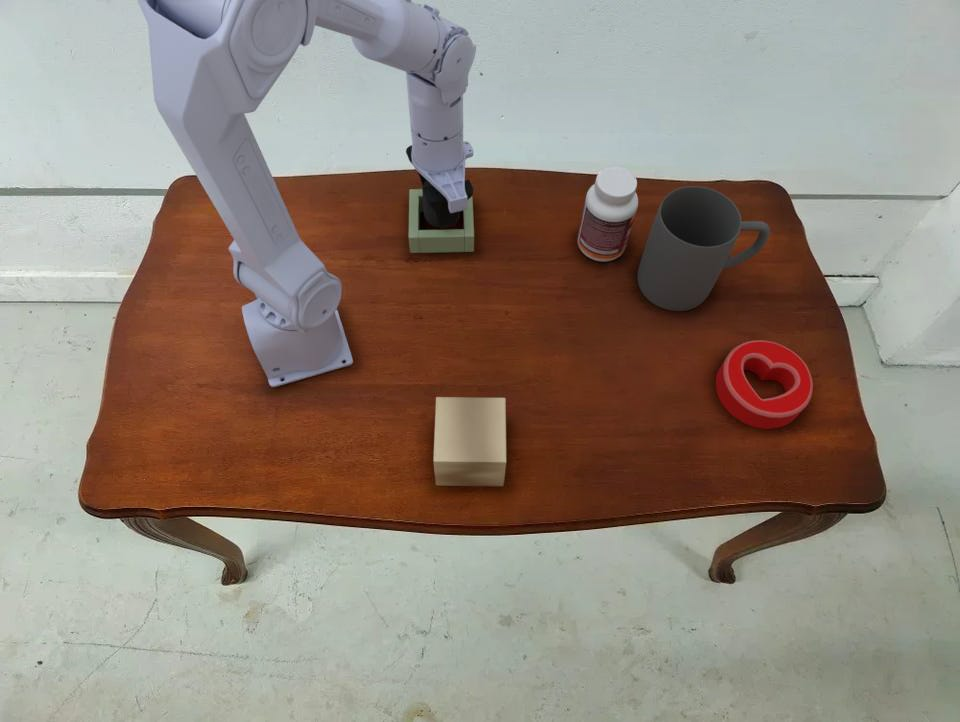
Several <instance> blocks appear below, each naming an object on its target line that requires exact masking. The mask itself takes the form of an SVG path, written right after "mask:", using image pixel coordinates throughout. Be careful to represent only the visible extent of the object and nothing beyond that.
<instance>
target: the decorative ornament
mask: <svg viewBox="0 0 960 722" xmlns="http://www.w3.org/2000/svg"><path fill="white" fill-rule="evenodd" d="M745 371H750V372H752V373H753V374H755V375H756V376H757V377H758V378H759V379H760V381H761V382H763V381H768V380H770V381H771V380H772V381H776V382H778V383H779V384H780V385H782V387H783V389H784V393H782V394H779V395H777V396H773V397H768V398H761V397H760V396H759V395H758V393H757V392H756V391H755V389H754V387H752V385H751V384H750V382H749V381H748V379H747V376H746V374H745ZM813 383H814V382H813V377H812V375H811V371H810V369H809V368H808V366H807V364H806V363H805V361H804V360H803V359H802V358H801V357H800V356H799V355H798V354H797V353H796V352H794V351H793V350H792V349H790V348H788V347H786V346H784V345H782V344H780V343H777V342H774V341H769V340H761V339H759V340H758V339H755V340H749V341H745V342H742V343H741V344H738V345H737V346H735V347H734V348H733V349H732V350H730V352H729V353H728V354H727V355H726V357H725V359H724V360H723V362H722V363H721V365H720V367H719V369H718V370H717V373H716V376H715V388H716V389H715V390H716V393H717V397H718V399H719V402H720V403H721V404H722V406H723V407H724V409H725V410H726V411H727V412H728V413H729V414H730V415H731V416H733V417H734V418H735V419H736V420H738V421H739V422H740V423H743V424H744V425H746V426H749V427H753V428H757V429H764V430H766V429H767V430H770V429H771V430H772V429H778V428H783V427H785V426H786V425H788V424H790V423H792V422H793V421H794V420H795V419H796V418H797V417H798V416H799V415H800V414H801V413H802V412H803V411H804V410H805V409H806V407H807V406H808V405H809V403H810V401H811V399H812V396H813V390H814V384H813Z"/></svg>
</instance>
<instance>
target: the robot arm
mask: <svg viewBox="0 0 960 722" xmlns="http://www.w3.org/2000/svg"><path fill="white" fill-rule="evenodd" d="M137 3H138V5H139V7H140V10H141V12H142V14H143V16H144V18H145V20H146V23H147V28H148V29H147V30H148V39H149V50H150V51H149V53H150V54H149V55H150V67H151V79H152V89H153V90H152V91H153V99H154V102H155V105H156V108H157V110H158V113H159V114H160V116H161V118H162V119H163V121H164V124H166V126H167V128H168V129H169V131H170V132H171V135H172V136H173V138H174V140H175V142H176V144H177V145H178V147H179V149H180V150H181V152H182V153H183V155H184V157H185V159H186V160H187V162H188V164H189V165H190V167H191V169H192V171H193V172H194V174H195V176H196V177H197V179H198V181H199V183H200V184H201V186H202V188H203V189H204V191H205V193H206V194H207V196H208V198H209V199H210V201H211V203H212V205H213V206H214V208H215V210H216V211H217V213H218V215H219V216H220V218H221V220H222V222H223V223H224V225H225V227H226V228H227V230H228V231H229V233H230V236H231V237H232V239H233V241H232V242H231V244H230V245H229V247H228V251H229V254H230V255H231V257H232V260H233V269H232V270H233V276H234V279H235V281H236V282H237V283H238V284H239V285H240V286H242V287H243V288H245V289H246V288H247V289H248V290H250V291H251V292H252V293H253V294H254V296H255V298H256V299H254V300H253V301H251V302H248V303H246V304H243V305H242V306H241V312H242V316H243V318H242V319H243V321H244V326H245V329H246V332H247V336H248V338H249V342H250V344H251V347H252V350H253V352H254V354H255V356H256V358H257V360H258V362H259V364H260V365H261V368H262V370H263V372H264V374H265V376H266V378H267V381H268V384H269V386H270V387H271V388H277V387H281V386H285V385H287V384H291V383H294V382H298V381H301V380H305V379H308V378H311V377H316V376H318V375H322V374H325V373H327V372H332V371H335V370H339V369H342V368H345V367H350V366H352V365H353V364H354V359H353V356H352V352H351V349H350V347H349V343H348V339H347V336H346V333H345V330H344V327H343V323H342V320H341V318H340V314H339V311H338V307H339V305H340V302H341V299H342V293H343V285H342V282H341V279H340V278H339V277H338V276H336V275H335V274H333V273H331V272H328V270H327V268H326V266H325V264H324V263H323V262H322V261H321V260H320V259H319V257H318V256H316V254H315V253H314V252H313V251H312V250H311V249H310V248H309V247H308V246H307V245H306V244H305V243H304V241H303V240H302V239H301V238H300V237H301V236H300V235H299V233H298V231H297V228H296V227H295V224H294V222H293V220H292V217H291V215H290V213H289V211H288V208H287V206H286V204H285V202H284V199H283V197H282V195H281V192H280V190H279V188H278V186H277V184H276V181H275V180H274V177H273V175H272V173H271V172H272V171H271V170H270V168H269V165H268V164H267V161H266V159H265V157H264V155H263V152H262V150H261V148H260V145H259V143H258V141H257V138H256V136H255V135H254V132H253V130H252V128H251V125H250V123H249V121H248V119H247V117H246V115H245V114H250V113H254V112H256V111H257V109H258V108H259V106H260V104H261V103H262V102H263V100H264V99H265V97H266V96H267V94H268V93H269V92H270V90H271V89H272V87H273V86H274V85H275V83H276V81H277V80H278V79H279V77H280V76H281V74H282V73H283V72H284V70H285V69H286V67H287V66H288V64H289V63H290V61H292V58H293V57H294V56H295V54H296V52H297V51H298V48H299V47H300V46H303V47H307V46H308V45H309V44H311V41H312V37H313V34H314V30H315V27H319V28H322V29H326V30H329V31H333V32H336V33H339V34H341V35H345V36H349V37H351V41H352V43H353V46H354V47H355V50H356V51H357V52H358V53H359V54H360V55H361V56H362V57H364V58H365V59H368V60H371V61H373V62H376V63H379V64H382V65H385V66H388V67H391V68H394V69H397V70H400V71H403V72H405V78H406V79H405V80H406V89H407V91H406V92H407V102H408V111H409V112H408V114H409V122H410V136H411V145H409V146H408V147H407V148H406V150H405V153H406V154H405V155H406V156H407V159H408V161H409V162H410V164H411V165H412V166H413V168H414V169H415V170H416V172H417V174H418V176H419V181H420V183H421V189H422V191H423V194H424V196H425V198H426V200H427V202H428V204H429V205H430V206H431V207H432V208H433V209H434V213H435V217H436V220H437V223H438V225H439V227H438V228H440V229H439V230H444V229H447V228H450V227H454V226H456V225H457V223H458V221H459V219H460V217H459V215H460V216H461V212H463V211H462V210H465V209H467V200H468V199H470V198H471V197H472V198H473V196H474V187H473V184H472V182H471V180H470V179H466V160H467V159H469V158H472V157H473V156H474V148H473V146H472V145H471V143H470V141H464V94H465V93H466V92H467V87H468V86H469V74H470V71H471V69H472V67H473V63H474V61H475V57H476V52H477V44H474V43H473V40H472V39H471V37H470V36H469V34H470V33H469V32H468V30H467V29H466V28H465V27H463V26H461V25H459V24H457V23H455V22H454V21H451V20H449V19H447V18H445V17H443V16H442V15H440V9H438V8H437V7H435V6H433V5H431V4H429V3H426V2H425V3H423V5H422V4H421V3H418V2H416V3H415V2H413V1H412V0H137ZM426 180H427V181H429V182H430V183H431V184H432V186H428V187H424V188H422V186H423V184H424V182H425V181H426ZM458 218H459V219H458Z"/></svg>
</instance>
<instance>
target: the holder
mask: <svg viewBox="0 0 960 722" xmlns="http://www.w3.org/2000/svg"><path fill="white" fill-rule="evenodd" d="M408 194H409V195H408V196H409V197H408V245H409V253H410V254H425V253H426V254H433V253H474V252H475V227H474V225H475V223H474V222H475V221H474V201H473V200H474V199H473V198H474V197H473V196H472V197H471V198H470V199H468V200H467V209H465V210H462V211H461V212H462V218H463V220H462V222H463V228H461V229H460V228H459V229H455V228H453V229H421V213H424V206H423V194H422V188H417V189H412V188H411V189H409V193H408Z"/></svg>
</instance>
